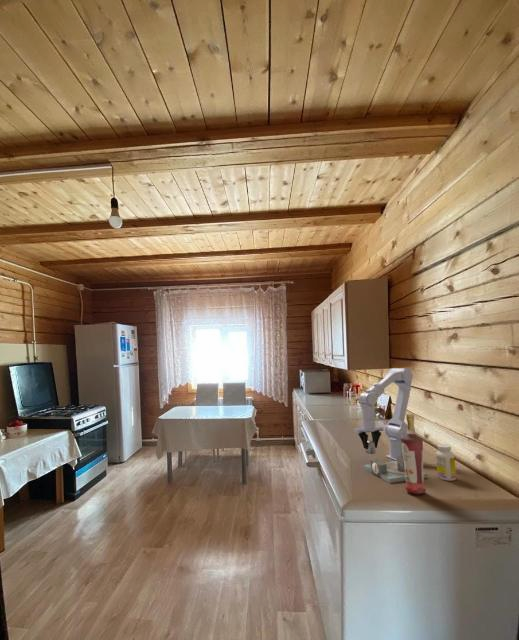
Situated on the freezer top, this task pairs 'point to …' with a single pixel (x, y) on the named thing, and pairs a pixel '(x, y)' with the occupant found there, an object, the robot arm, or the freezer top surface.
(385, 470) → the scale
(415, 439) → the liquor
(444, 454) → the supplement bottle
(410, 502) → the freezer top surface
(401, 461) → the cylinder
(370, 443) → the cylinder
